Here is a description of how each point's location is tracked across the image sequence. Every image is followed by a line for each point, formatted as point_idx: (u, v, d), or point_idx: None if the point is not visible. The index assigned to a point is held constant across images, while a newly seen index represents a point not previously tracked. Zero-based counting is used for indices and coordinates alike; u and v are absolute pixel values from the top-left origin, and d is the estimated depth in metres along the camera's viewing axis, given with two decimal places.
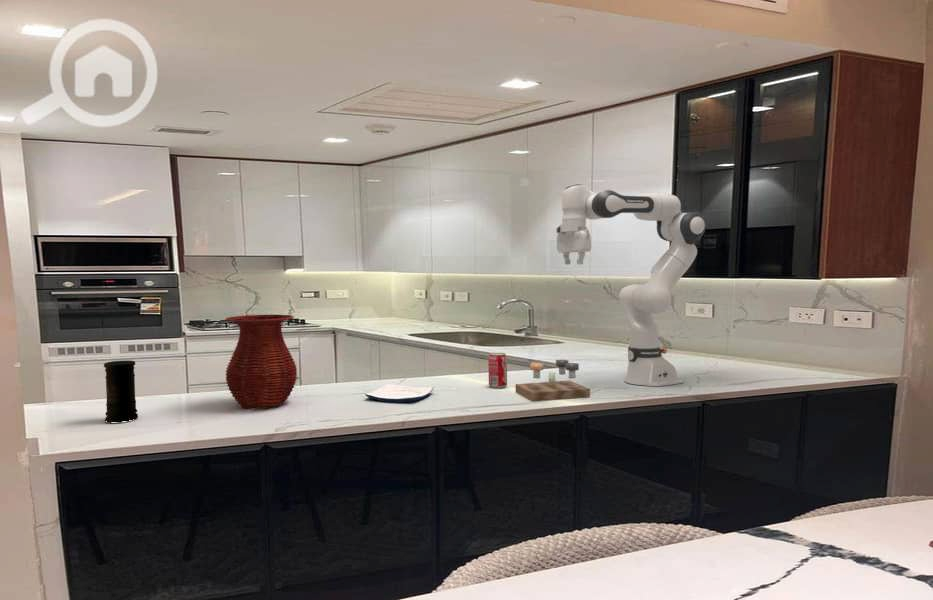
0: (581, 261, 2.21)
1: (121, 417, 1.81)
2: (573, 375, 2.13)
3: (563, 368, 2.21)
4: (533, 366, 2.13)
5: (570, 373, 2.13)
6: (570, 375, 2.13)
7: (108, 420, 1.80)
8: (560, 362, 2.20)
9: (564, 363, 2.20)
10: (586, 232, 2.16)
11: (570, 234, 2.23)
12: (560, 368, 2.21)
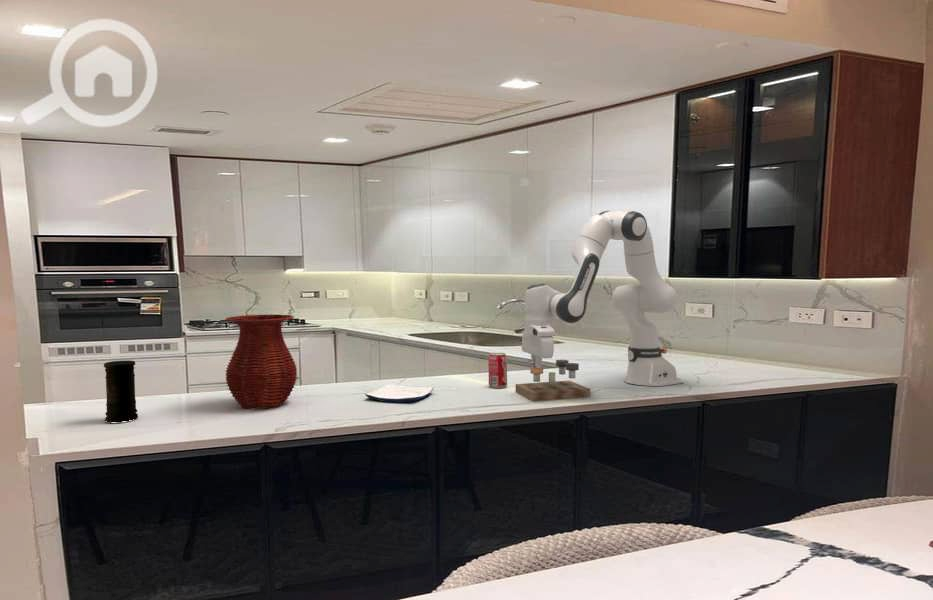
0: None
1: (121, 417, 1.81)
2: (573, 375, 2.13)
3: (563, 368, 2.21)
4: (533, 369, 2.13)
5: (570, 373, 2.13)
6: (570, 375, 2.13)
7: (108, 420, 1.80)
8: (560, 362, 2.20)
9: (564, 363, 2.20)
10: None
11: None
12: (560, 368, 2.21)
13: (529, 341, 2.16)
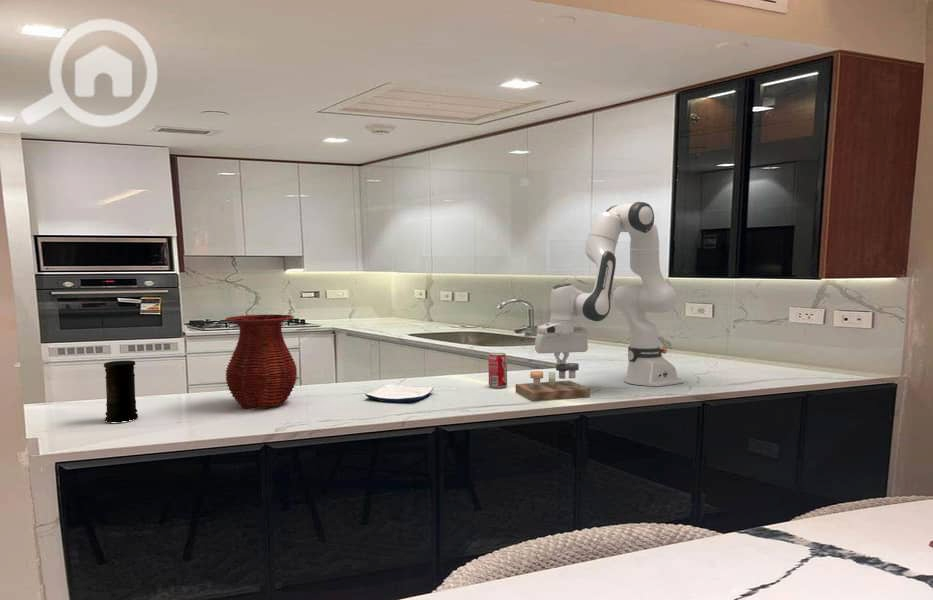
0: None
1: (121, 417, 1.81)
2: (573, 375, 2.13)
3: (563, 372, 2.21)
4: (533, 374, 2.13)
5: (570, 373, 2.13)
6: (570, 375, 2.13)
7: (108, 420, 1.80)
8: (560, 367, 2.20)
9: (564, 367, 2.20)
10: (586, 333, 2.24)
11: (569, 335, 2.19)
12: (560, 372, 2.21)
13: None
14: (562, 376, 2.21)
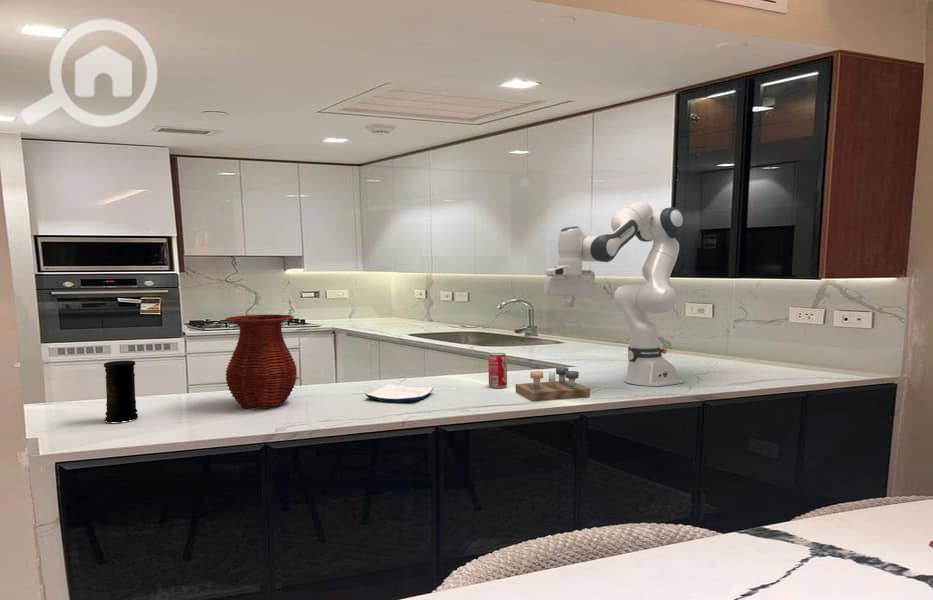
0: None
1: (121, 417, 1.81)
2: (573, 383, 2.13)
3: (563, 376, 2.21)
4: (533, 374, 2.13)
5: (570, 381, 2.14)
6: (570, 383, 2.14)
7: (108, 420, 1.80)
8: (560, 370, 2.20)
9: (564, 371, 2.20)
10: (593, 276, 2.25)
11: (577, 277, 2.21)
12: (560, 376, 2.21)
13: None
14: (562, 380, 2.21)
